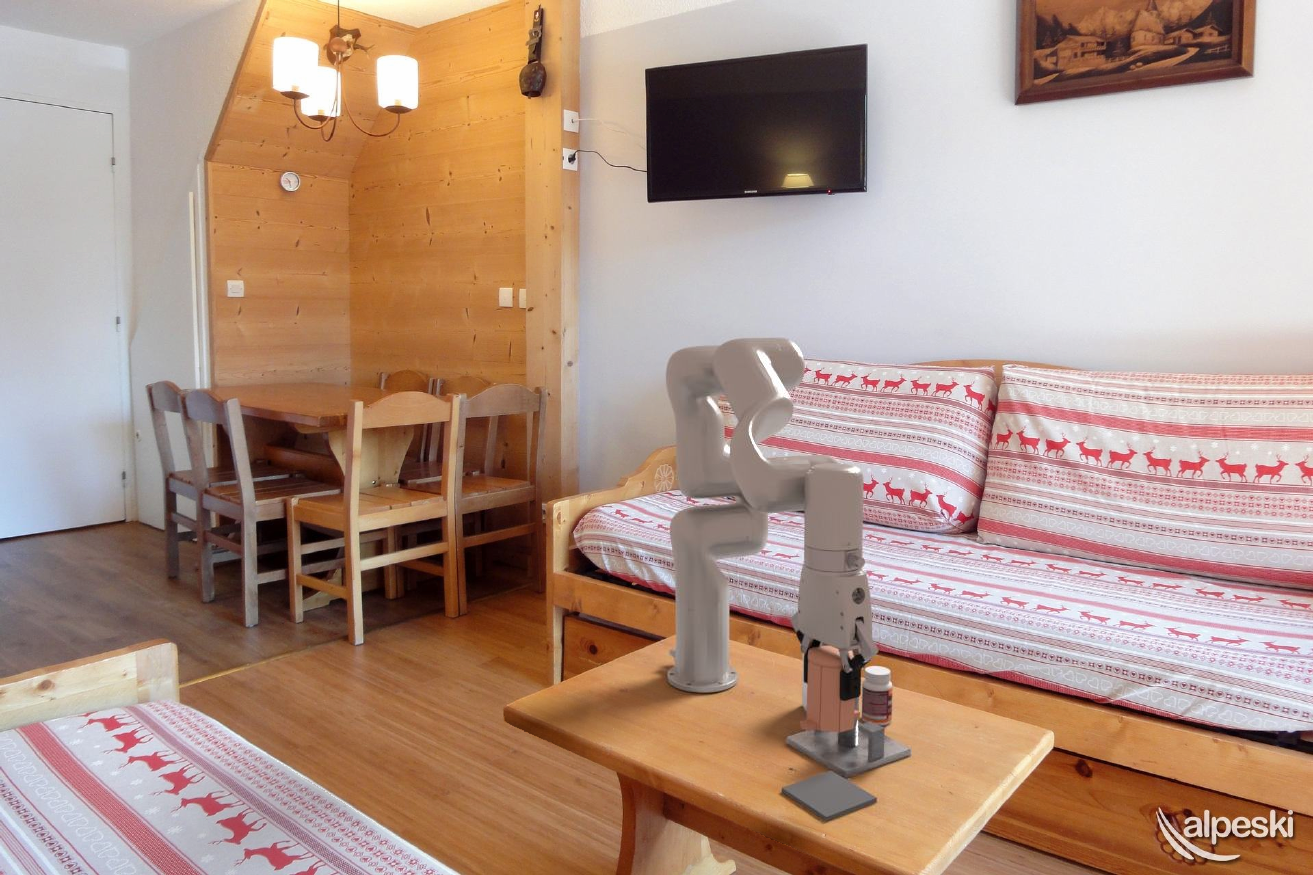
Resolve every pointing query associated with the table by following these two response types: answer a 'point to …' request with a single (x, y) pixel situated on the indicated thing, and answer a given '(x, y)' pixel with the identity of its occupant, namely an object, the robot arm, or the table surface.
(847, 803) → the coaster
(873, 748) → the pegged base plate
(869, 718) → the pill bottle
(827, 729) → the salmon domed faceted piece
